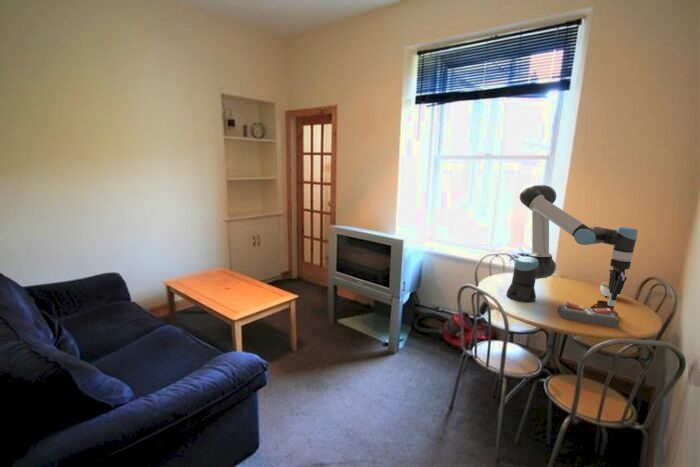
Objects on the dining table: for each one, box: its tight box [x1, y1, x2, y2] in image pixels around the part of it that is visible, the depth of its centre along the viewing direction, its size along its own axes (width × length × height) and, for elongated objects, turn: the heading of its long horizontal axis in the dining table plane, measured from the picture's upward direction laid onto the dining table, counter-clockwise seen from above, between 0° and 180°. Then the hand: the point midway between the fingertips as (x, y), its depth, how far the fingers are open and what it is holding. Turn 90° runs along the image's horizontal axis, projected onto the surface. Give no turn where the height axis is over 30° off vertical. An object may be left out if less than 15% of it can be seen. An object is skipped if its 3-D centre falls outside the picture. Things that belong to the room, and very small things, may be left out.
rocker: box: [565, 301, 584, 311], centre depth 173 cm, size 7×4×1 cm, turn 72°
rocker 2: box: [593, 308, 612, 314], centre depth 170 cm, size 7×4×1 cm, turn 71°
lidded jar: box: [600, 281, 624, 298], centre depth 206 cm, size 11×11×9 cm
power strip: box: [557, 303, 620, 329], centre depth 172 cm, size 24×9×5 cm, turn 72°
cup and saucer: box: [590, 300, 619, 317], centre depth 180 cm, size 12×12×6 cm
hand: (611, 305), depth 168 cm, fingers closed
